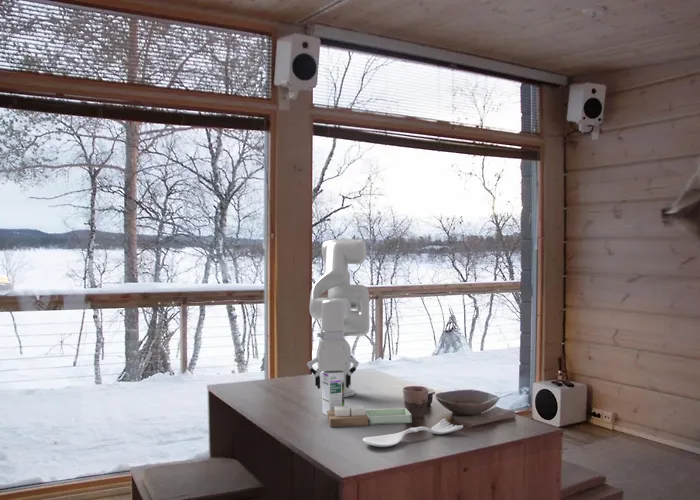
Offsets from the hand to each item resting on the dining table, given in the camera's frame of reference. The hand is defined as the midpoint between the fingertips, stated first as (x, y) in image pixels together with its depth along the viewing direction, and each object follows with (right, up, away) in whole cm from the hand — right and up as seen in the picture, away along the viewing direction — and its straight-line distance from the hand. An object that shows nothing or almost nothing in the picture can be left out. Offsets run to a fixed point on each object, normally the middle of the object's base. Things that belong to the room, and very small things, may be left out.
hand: (332, 387), depth 211 cm
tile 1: (+3, -7, -9) cm, 11 cm away
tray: (+18, -9, -7) cm, 21 cm away
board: (+5, -9, -9) cm, 13 cm away
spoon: (+24, -10, -27) cm, 37 cm away
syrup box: (0, -9, +1) cm, 9 cm away
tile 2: (+8, -7, -8) cm, 13 cm away
